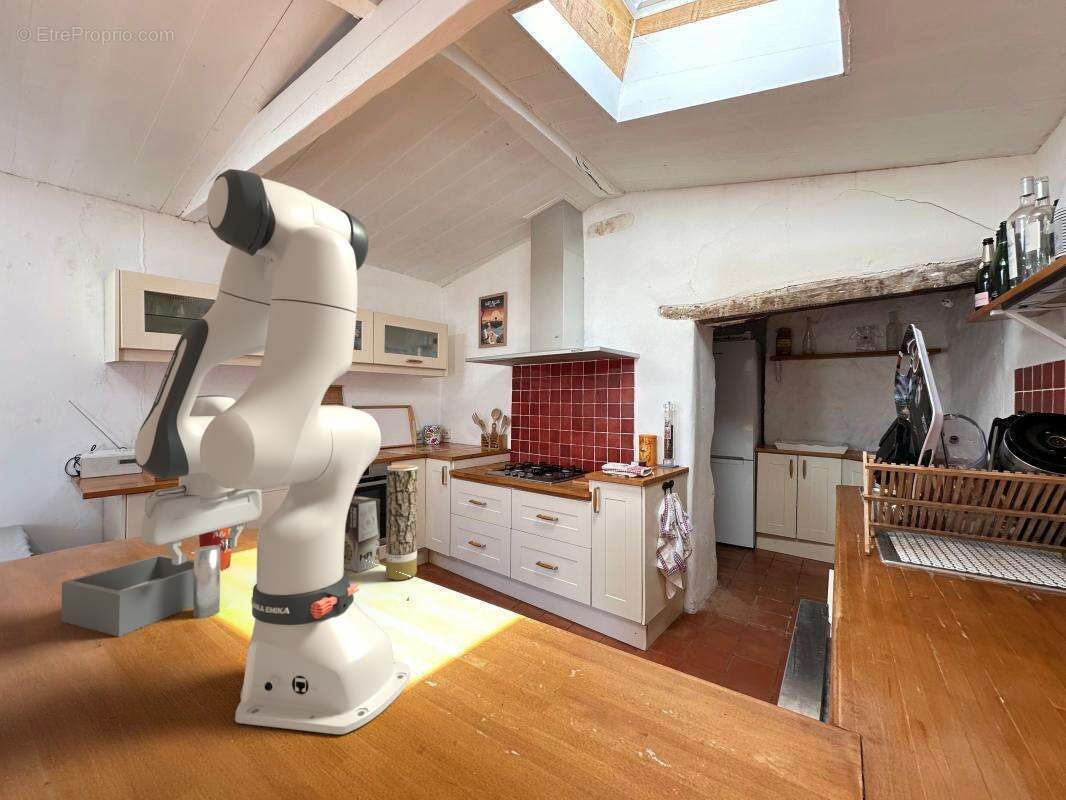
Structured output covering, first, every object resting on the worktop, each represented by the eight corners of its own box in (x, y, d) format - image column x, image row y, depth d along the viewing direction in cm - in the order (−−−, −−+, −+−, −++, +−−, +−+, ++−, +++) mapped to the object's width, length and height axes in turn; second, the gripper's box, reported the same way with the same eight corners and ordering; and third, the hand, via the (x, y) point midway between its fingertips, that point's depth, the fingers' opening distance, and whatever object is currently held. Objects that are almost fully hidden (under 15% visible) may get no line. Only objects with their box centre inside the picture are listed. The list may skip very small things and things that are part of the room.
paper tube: (408, 582, 99) (409, 468, 100) (379, 580, 101) (381, 467, 101) (421, 571, 106) (422, 465, 106) (395, 569, 107) (396, 464, 108)
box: (214, 598, 91) (214, 563, 91) (119, 636, 76) (119, 594, 76) (160, 587, 96) (160, 554, 96) (61, 621, 81) (61, 582, 81)
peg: (224, 610, 86) (225, 546, 86) (203, 619, 82) (204, 553, 82) (209, 607, 87) (210, 544, 87) (187, 616, 83) (188, 550, 83)
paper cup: (220, 574, 103) (221, 513, 103) (187, 574, 103) (188, 512, 104) (242, 562, 111) (243, 505, 111) (211, 562, 111) (212, 505, 111)
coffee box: (380, 565, 110) (381, 498, 110) (357, 573, 105) (358, 503, 105) (356, 558, 115) (357, 494, 115) (333, 565, 109) (334, 499, 110)
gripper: (158, 493, 74) (155, 577, 74) (268, 475, 93) (266, 542, 93) (133, 489, 76) (130, 572, 76) (245, 472, 95) (243, 538, 95)
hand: (206, 555), depth 85 cm, fingers open, 8 cm apart
